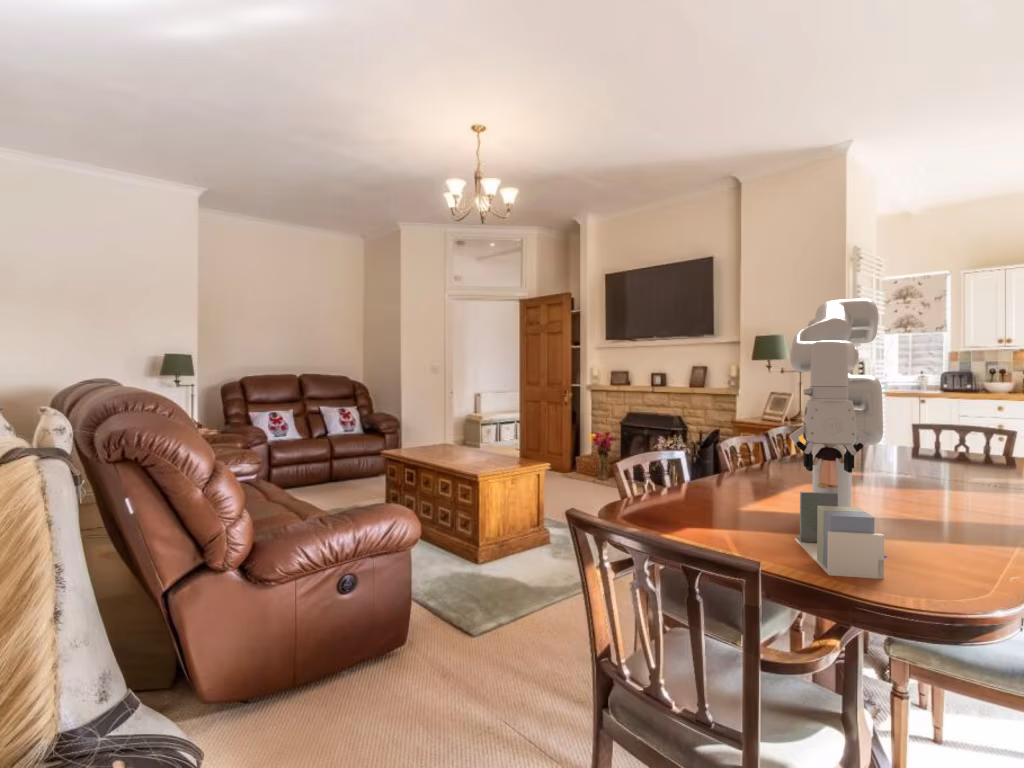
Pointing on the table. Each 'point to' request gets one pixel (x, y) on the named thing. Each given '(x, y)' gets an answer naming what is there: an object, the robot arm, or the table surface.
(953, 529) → the table surface
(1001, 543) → the table surface
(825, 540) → the book slate
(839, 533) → the book rack
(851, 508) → the book sage
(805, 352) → the robot arm
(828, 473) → the grandmother figurine
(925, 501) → the table surface
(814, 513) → the bookend
